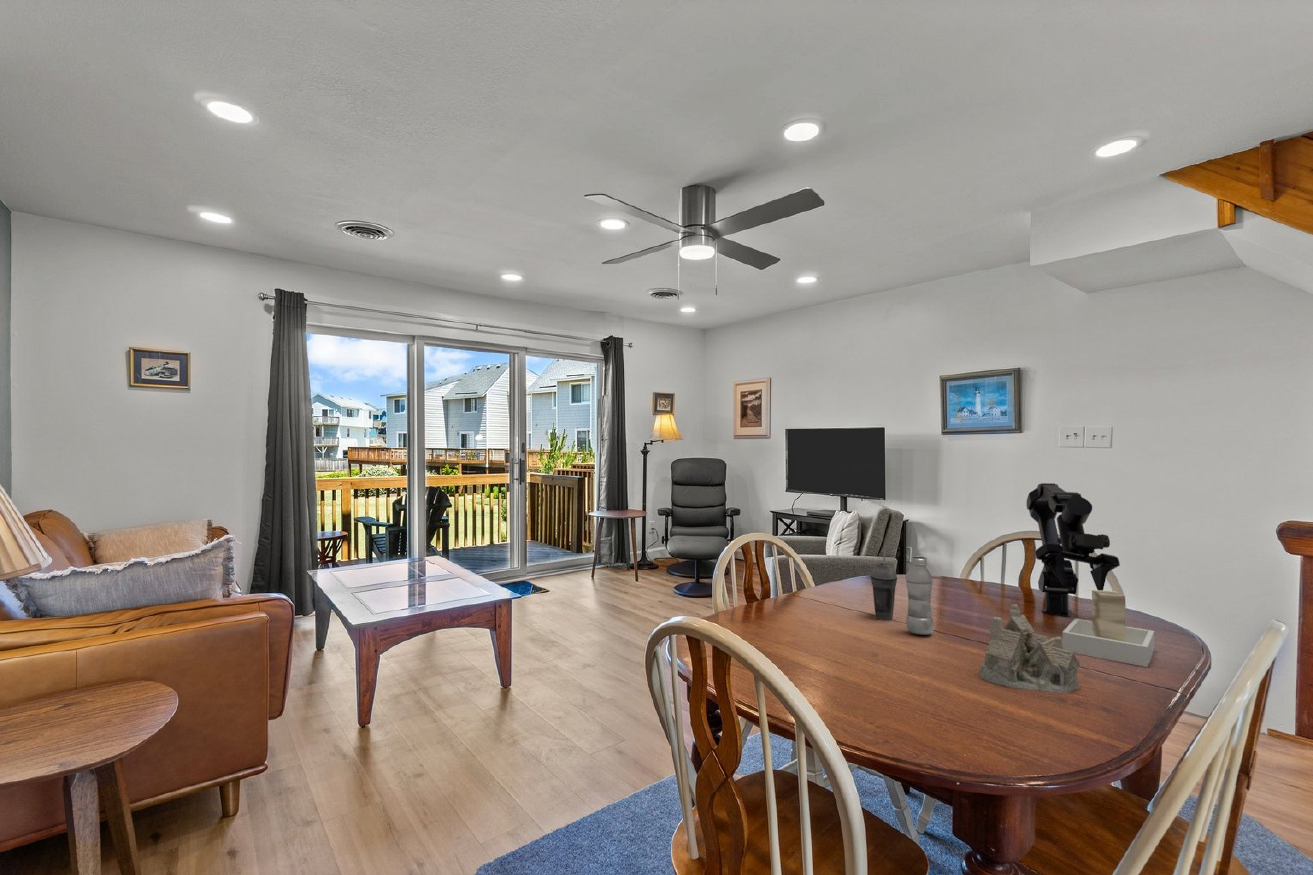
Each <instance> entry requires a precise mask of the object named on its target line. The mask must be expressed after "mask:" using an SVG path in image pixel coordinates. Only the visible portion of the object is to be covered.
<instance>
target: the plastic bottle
mask: <svg viewBox="0 0 1313 875" xmlns="http://www.w3.org/2000/svg"><path fill="white" fill-rule="evenodd" d="M910 565H911V567H910V569H908V571H907V573H906V575H905V582H906V587H907V588H906V589H907V597H908V606H907V615H906V622H905V623H906V624H905V625H906V628H907V630H908V631H909V632H910V633H911V634H915V635H919V636H923V635H924V636H926V635H931V634H932V633H933V632H934V627H935V625H934V624H935V623H934V618H933V613H932V604H931V602H932V600H931V598H932V590H933V589H932V588H933V581H934V580H933V576H932V573H931V572H930V571H929V569H928V568H927V566H928V558H927V557H925V556H911V562H910Z"/></svg>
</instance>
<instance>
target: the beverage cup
mask: <svg viewBox="0 0 1313 875" xmlns="http://www.w3.org/2000/svg"><path fill="white" fill-rule="evenodd" d="M886 551H887V550H886V548H883V563H878V564H876V565H875V566H874V567H873V568H872V570H871V573H870V581H871V586H872V595H873V604H874V605H873V606H874V613H875V614H874V615H875V618H876V619H877V620H880V621H892V620H893V615H894V609H895V597H896V595H895V594H896V586H897V582H898V577H897V572H896V570H895V568H894V567H893V566H891V565H890V564H888V563H886V555H887V554H886Z"/></svg>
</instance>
